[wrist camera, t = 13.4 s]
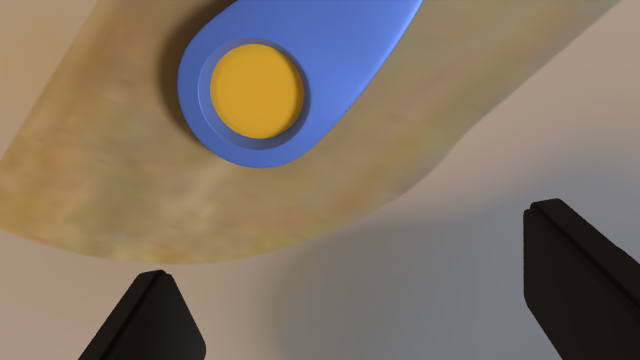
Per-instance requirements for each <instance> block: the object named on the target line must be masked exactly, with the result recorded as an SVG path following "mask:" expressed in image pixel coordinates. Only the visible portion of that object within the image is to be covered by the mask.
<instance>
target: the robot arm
mask: <svg viewBox="0 0 640 360" xmlns="http://www.w3.org/2000/svg"><path fill="white" fill-rule="evenodd" d="M523 220H524V221H523V224H524V225H523V226H524V228H523V230H524V231H523V232H524V233H523V235H524V236H523V237H524V297H525V301H526V303H527V306H528V308H529V309H530V311H531V312H532V314H533V315H534V317H535V319H536V320H537V321H538V323H539V324H540V326H541V328H542V329H543V330H544V332H545V334H546V335H547V336H548V338H549V340H550V341H551V343H552V344H553V346H554V347H555V349H556V350H557V352H558V353H559V355H560V356H561V358H562V359H563V360H640V264H639V263H638V262H637V261H635V260H634V259H633V258H632V257H631V256H629V255H628V254H627V253H626V252H625V251H623V250H622V249H620V248H619V247H617V246H615V245H614V244H613V243H612V242H611V241H610V240H608V239H607V238H606V237H605V236H604V235H602V234H601V233H600V232H599V231H598V230H596V229H595V228H594V227H593V226H592V225H591V224H589V223H588V222H587V221H586V220H585V219H583V218H582V217H581V216H580V215H578V213H576V212H575V211H574V210H573V209H572V208H570V207H569V206H568V205H567V204H566V203H564V202H563V201H562V200H560V199H558V198H555V199H549V200H544V201H539V202H533V203H532V204H531V206H530V209H527V210H525V211H524V215H523ZM205 355H206V345H205V342H204V340H203V337H202V335H201V333H200V331H199V329H198V327H197V326H196V323H195V321H194V319H193V317H192V315H191V313H190V311H189V309H188V307H187V305H186V303H185V301H184V299H183V297H182V295H181V293H180V291H179V289H178V287H177V285H176V283H175V281H174V279H173V277H172V275H170V274H166V272H164V271H163V270H155V271H150V272H144V273H141V274H139V275H138V276H137V277H136V279H135V280H134V281H133V283H132V284H131V286H130V287H129V289H128V290H127V291H126V293H125V294H124V296H123V297H122V298H121V300H120V301H119V303H118V304H117V305H116V307H115V308H114V310H113V311H112V312H111V314H110V315H109V317H108V318H107V319H106V321H105V322H104V324H103V325H102V326H101V328H100V329H99V331H98V332H97V333H96V335H95V337H94V338H93V339H92V341H91V342H90V344H89V345H88V346H87V348H86V349H85V351H84V352H83V353H82V355H81V356H80V357H79V359H78V360H204V358H205Z"/></svg>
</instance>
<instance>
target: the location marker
mask: <svg viewBox="0 0 640 360" xmlns="http://www.w3.org/2000/svg"><path fill="white" fill-rule="evenodd" d="M422 2H423V0H237V1H235V2H234V3H232V4H231V5H230V6H228V7H227V8H226V9H224V10H223V11H222V12H220V13H219V14H218V15H216V16H215V17H214V18H213V19H212V20H210V21H209V22H208V23H207V24H206V25H205V26H204V27H203V28H202V29H201V30H200V31H199V32H198V33H197V34H196V35H195V36H194V37H193V39H192V40H191V41H190V43H189V44H188V46H187V47H186V49H185V51H184V53H183V56H182V58H181V61H180V65H179V69H178V76H177V92H178V99H179V104H180V107H181V110H182V113H183V116H184V118H185V120H186V122H187V124H188V126H189V127H190V129H191V130H192V132H193V133H194V135H195V136H196V137H197V138H198V139H199V141H200V142H201V143H202V144H203V145H204V146H206V147H207V148H208V149H209V150H210V151H212V152H213V153H215V154H216V155H218V156H219V157H221V158H223V159H225V160H227V161H229V162H232V163H234V164H237V165H241V166H246V167H252V168H269V167H275V166H280V165H283V164H286V163H289V162H291V161H293V160H295V159H297V158H299V157H300V156H302V155H303V154H304V153H306V152H307V151H308V150H310V149H311V148H312V147H313V146H314V145H315V144H316V143H318V142H319V141H320V140H321V139H322V138H323V137H324V136H325V135H326V134H327V133H328V132H329V131H330V129H331V128H332V127H333V126H334V125H335V124H336V123H337V122H338V121H339V120H340V119H341V118H342V116H343V115H344V114H345V113H346V112H347V111H348V109H349V108H350V107H351V106H352V104H353V103H354V102H355V101H356V99H357V98H358V97H359V96H360V95H361V93H362V92H363V91H364V89H365V88H366V87H367V86H368V84H369V83H370V82H371V80H372V79H373V77H374V76H375V75H376V73H377V72H378V71H379V69H380V68H381V66H382V65H383V64H384V62H385V61H386V59H387V58H388V57H389V55H390V54H391V52H392V51H393V49H394V48H395V46H396V45H397V43H398V42H399V40H400V39H401V37H402V36H403V34H404V33H405V31H406V29H407V28H408V26H409V25H410V23H411V21H412V20H413V18H414V16H415V14H416V13H417V11H418V9H419V7H420V6H421V4H422Z"/></svg>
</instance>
